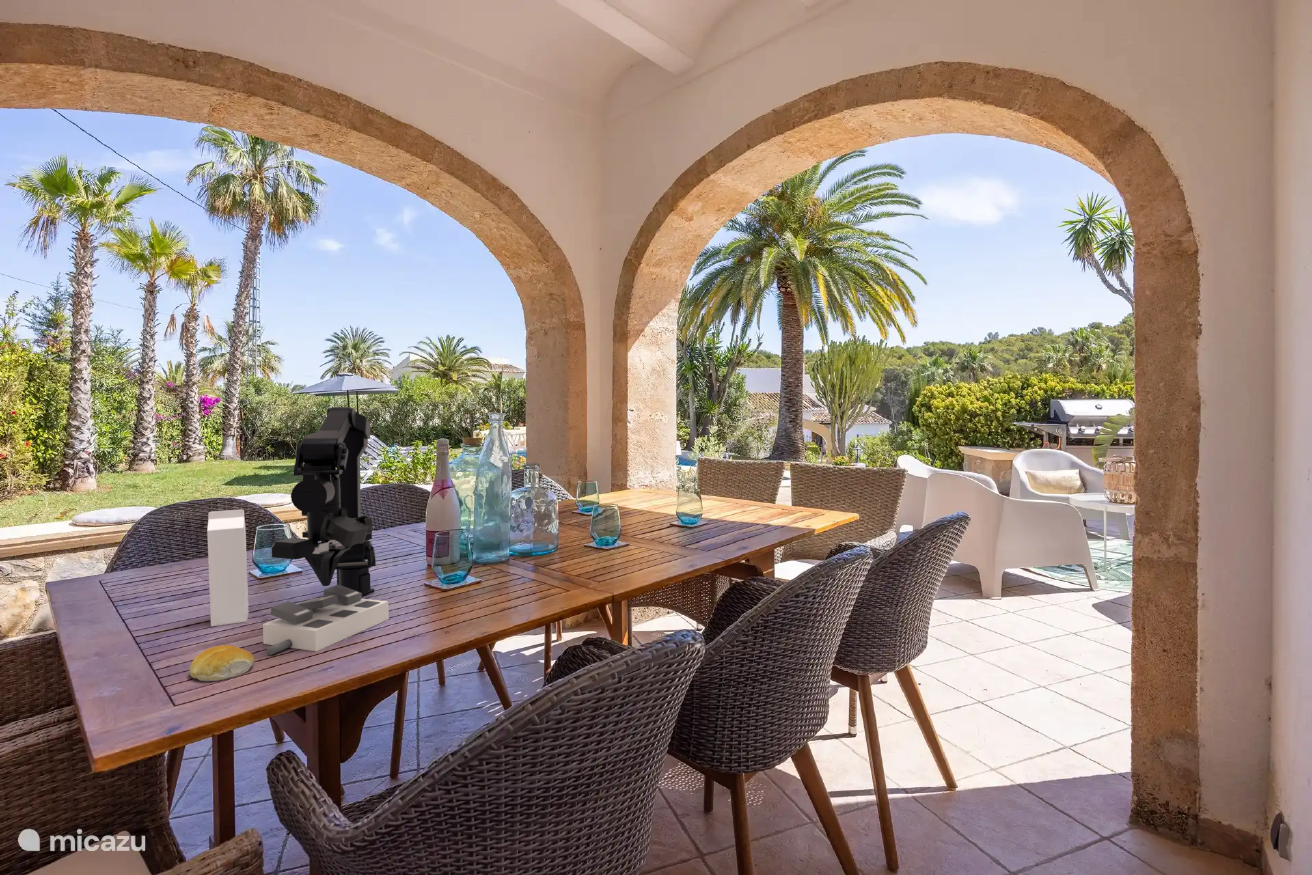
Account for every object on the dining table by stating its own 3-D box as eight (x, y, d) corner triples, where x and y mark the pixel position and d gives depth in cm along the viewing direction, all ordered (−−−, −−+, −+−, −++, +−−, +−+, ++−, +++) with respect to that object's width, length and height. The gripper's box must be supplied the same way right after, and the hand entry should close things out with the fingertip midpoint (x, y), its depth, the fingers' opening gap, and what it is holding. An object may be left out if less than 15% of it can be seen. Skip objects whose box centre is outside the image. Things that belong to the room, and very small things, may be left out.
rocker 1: (270, 614, 118) (271, 606, 118) (287, 608, 122) (288, 600, 122) (295, 624, 117) (297, 616, 116) (312, 618, 120) (313, 610, 120)
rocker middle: (299, 611, 124) (297, 603, 124) (314, 605, 127) (312, 598, 127) (323, 607, 122) (321, 599, 122) (338, 602, 126) (336, 594, 126)
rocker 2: (323, 595, 130) (324, 588, 130) (337, 590, 133) (338, 584, 133) (347, 604, 128) (348, 597, 128) (360, 599, 131) (362, 592, 131)
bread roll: (234, 658, 112) (234, 634, 111) (261, 669, 107) (261, 645, 107) (178, 674, 105) (178, 650, 104) (205, 687, 100) (204, 662, 100)
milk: (247, 622, 130) (243, 511, 129) (210, 627, 127) (206, 514, 126) (248, 613, 135) (245, 507, 134) (213, 618, 132) (209, 509, 131)
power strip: (243, 651, 114) (242, 630, 114) (340, 613, 135) (340, 595, 135) (296, 659, 110) (296, 637, 110) (388, 619, 131) (388, 600, 131)
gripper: (317, 514, 112) (320, 604, 113) (393, 498, 130) (395, 576, 130) (267, 510, 115) (270, 598, 116) (348, 496, 133) (350, 572, 134)
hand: (326, 585), depth 124 cm, fingers closed
